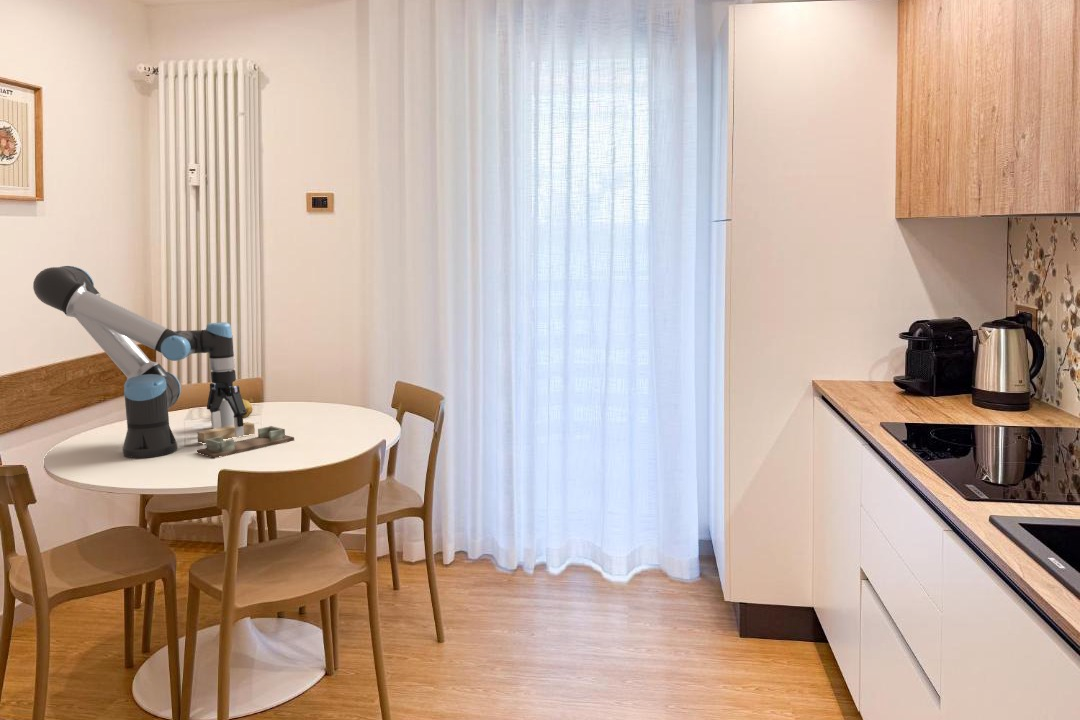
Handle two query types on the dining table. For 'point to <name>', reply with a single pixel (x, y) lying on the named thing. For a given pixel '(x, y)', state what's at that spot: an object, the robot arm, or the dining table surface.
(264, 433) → the cradle
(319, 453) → the dining table surface
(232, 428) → the slat
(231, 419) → the can
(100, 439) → the dining table surface
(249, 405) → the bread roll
